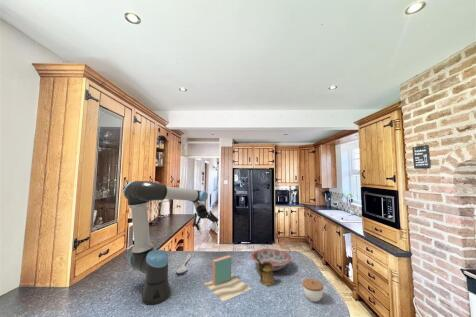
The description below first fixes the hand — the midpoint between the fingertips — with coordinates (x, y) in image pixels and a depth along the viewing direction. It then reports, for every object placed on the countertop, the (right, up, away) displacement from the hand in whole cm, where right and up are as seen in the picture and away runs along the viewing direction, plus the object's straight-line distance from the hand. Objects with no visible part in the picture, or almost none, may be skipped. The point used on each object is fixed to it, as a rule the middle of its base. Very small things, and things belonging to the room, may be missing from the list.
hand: (209, 232), depth 137 cm
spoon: (-20, -30, +11) cm, 38 cm away
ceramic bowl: (+44, -28, +5) cm, 52 cm away
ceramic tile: (+10, -25, -15) cm, 31 cm away
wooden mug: (+36, -26, -16) cm, 47 cm away
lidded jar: (+61, -24, -32) cm, 73 cm away
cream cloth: (+14, -26, -20) cm, 35 cm away
